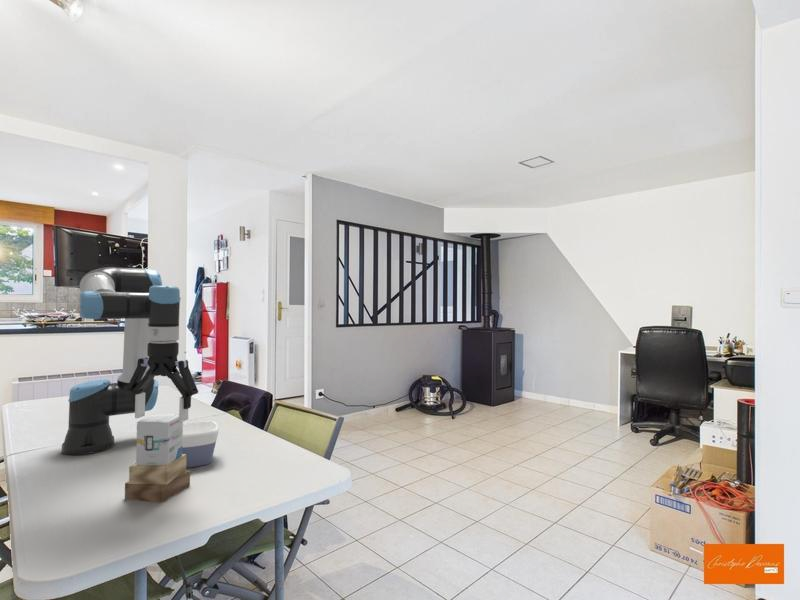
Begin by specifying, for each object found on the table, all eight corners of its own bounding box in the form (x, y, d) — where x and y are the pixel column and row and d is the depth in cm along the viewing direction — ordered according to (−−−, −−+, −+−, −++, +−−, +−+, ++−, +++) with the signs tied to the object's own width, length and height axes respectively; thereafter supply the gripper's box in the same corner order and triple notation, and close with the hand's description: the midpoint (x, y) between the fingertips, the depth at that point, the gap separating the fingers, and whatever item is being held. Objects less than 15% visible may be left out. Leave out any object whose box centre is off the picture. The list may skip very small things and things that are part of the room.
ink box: (153, 454, 121) (153, 413, 121) (183, 454, 121) (184, 413, 121) (135, 465, 113) (135, 421, 113) (167, 465, 113) (168, 421, 113)
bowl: (165, 474, 129) (166, 437, 129) (166, 457, 142) (167, 424, 143) (220, 465, 136) (221, 431, 136) (216, 451, 149) (217, 419, 150)
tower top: (128, 483, 112) (129, 466, 112) (151, 469, 122) (151, 453, 122) (166, 484, 112) (167, 467, 112) (186, 469, 122) (186, 454, 122)
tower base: (124, 500, 112) (125, 483, 112) (155, 483, 123) (156, 467, 123) (161, 504, 110) (161, 486, 110) (189, 486, 121) (190, 470, 121)
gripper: (112, 341, 116) (110, 419, 115) (195, 345, 111) (193, 426, 111) (134, 338, 123) (132, 412, 123) (212, 342, 119) (210, 418, 119)
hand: (161, 418), depth 117 cm, fingers open, 13 cm apart
